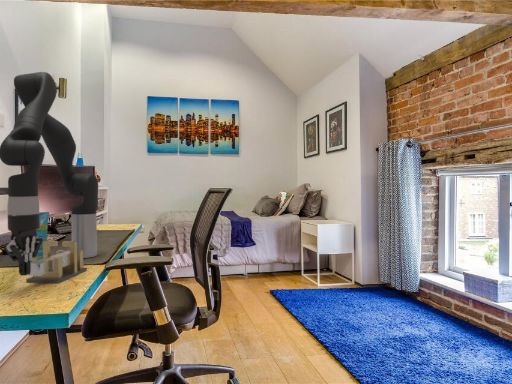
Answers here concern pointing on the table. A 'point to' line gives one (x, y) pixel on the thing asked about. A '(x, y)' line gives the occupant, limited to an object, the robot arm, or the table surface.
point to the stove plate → (65, 276)
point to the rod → (48, 264)
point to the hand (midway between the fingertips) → (24, 274)
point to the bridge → (64, 244)
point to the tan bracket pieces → (60, 265)
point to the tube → (42, 231)
